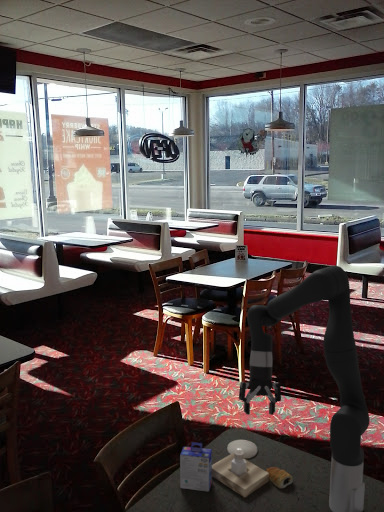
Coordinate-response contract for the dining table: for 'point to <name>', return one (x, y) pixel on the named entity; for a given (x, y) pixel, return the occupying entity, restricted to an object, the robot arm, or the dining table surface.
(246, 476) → the socket block
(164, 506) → the dining table surface
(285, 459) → the dining table surface
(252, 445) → the white dome
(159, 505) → the dining table surface
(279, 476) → the pastry
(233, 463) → the salt shaker
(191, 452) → the ink cartridge box
